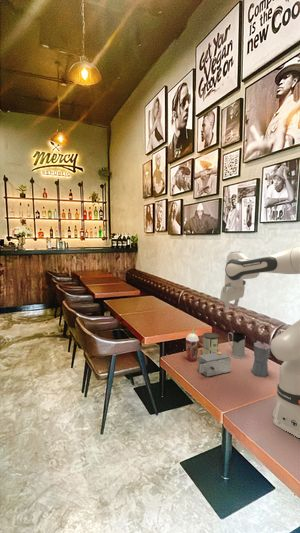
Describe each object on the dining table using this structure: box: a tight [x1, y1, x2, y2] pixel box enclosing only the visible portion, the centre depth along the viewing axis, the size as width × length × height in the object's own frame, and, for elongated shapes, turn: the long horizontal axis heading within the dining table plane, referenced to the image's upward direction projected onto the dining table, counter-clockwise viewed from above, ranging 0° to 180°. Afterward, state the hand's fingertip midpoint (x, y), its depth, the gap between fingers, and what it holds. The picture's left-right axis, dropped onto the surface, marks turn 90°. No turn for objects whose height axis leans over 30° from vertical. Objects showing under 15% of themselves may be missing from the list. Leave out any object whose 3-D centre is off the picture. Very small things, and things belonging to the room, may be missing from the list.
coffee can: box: [201, 332, 220, 355], centre depth 183 cm, size 10×10×14 cm
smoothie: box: [185, 328, 200, 362], centre depth 175 cm, size 8×8×20 cm
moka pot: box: [251, 339, 271, 378], centre depth 159 cm, size 10×15×20 cm, turn 11°
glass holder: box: [227, 331, 246, 360], centre depth 185 cm, size 9×14×15 cm, turn 29°
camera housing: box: [197, 351, 231, 377], centre depth 161 cm, size 8×17×10 cm, turn 114°
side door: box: [199, 357, 232, 377], centre depth 155 cm, size 2×21×8 cm, turn 114°
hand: (231, 307), depth 146 cm, fingers open, 8 cm apart
